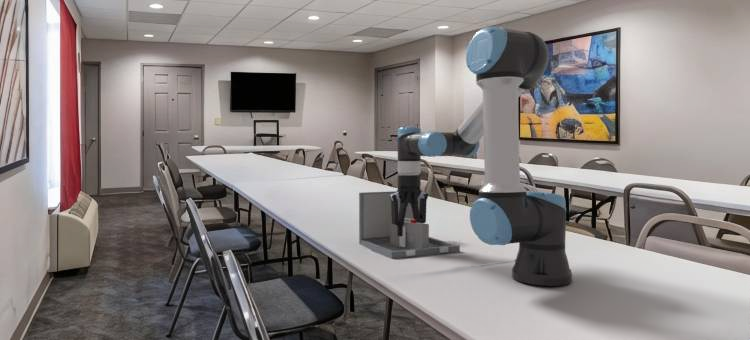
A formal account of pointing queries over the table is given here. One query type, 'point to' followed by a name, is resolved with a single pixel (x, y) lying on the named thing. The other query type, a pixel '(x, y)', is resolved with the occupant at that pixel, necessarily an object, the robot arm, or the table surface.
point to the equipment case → (377, 227)
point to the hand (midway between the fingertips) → (408, 245)
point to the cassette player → (411, 234)
